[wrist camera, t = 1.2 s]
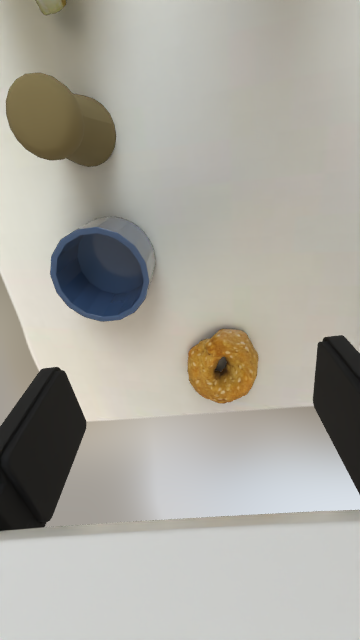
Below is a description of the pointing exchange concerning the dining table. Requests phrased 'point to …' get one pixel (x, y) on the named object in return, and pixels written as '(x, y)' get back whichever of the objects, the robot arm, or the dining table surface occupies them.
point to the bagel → (234, 375)
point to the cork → (59, 121)
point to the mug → (50, 6)
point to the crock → (103, 268)
